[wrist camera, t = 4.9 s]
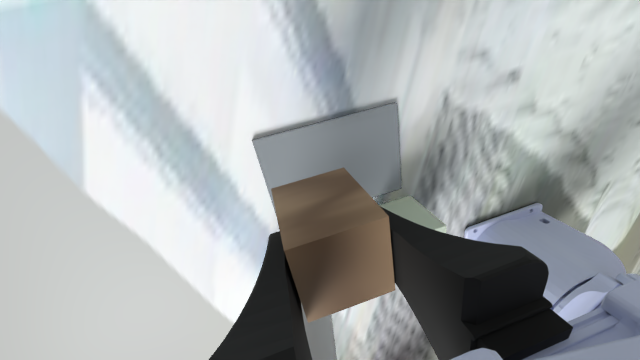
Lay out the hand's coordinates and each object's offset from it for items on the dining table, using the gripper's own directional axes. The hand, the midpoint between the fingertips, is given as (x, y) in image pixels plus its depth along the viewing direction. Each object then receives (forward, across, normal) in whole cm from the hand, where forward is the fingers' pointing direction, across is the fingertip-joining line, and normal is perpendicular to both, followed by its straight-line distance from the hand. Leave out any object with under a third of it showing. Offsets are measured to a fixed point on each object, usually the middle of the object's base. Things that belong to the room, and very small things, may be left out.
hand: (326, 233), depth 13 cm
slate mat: (+8, -3, 0) cm, 9 cm away
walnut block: (+2, 0, 0) cm, 2 cm away
